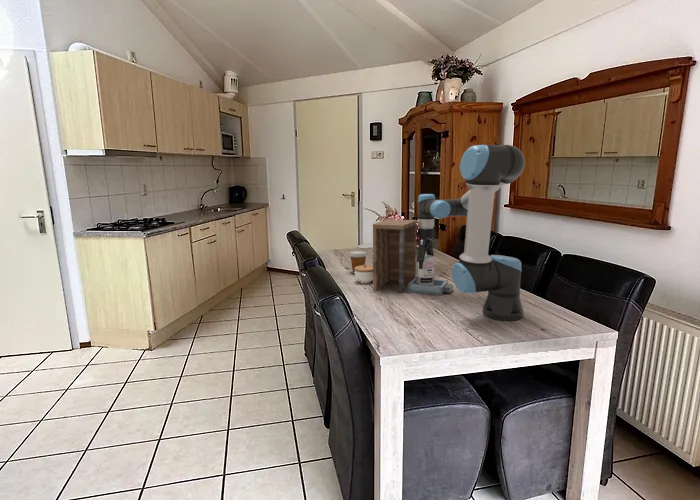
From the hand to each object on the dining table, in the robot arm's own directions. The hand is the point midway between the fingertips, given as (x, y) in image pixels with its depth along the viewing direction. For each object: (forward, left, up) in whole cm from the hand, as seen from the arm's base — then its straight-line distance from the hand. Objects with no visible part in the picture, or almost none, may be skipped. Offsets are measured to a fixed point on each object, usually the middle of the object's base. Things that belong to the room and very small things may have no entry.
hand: (425, 272), depth 194 cm
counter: (0, +15, -9) cm, 17 cm away
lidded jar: (+2, +32, -9) cm, 33 cm away
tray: (0, -3, -8) cm, 9 cm away
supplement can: (0, 0, -7) cm, 7 cm away
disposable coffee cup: (+18, +43, -9) cm, 47 cm away
